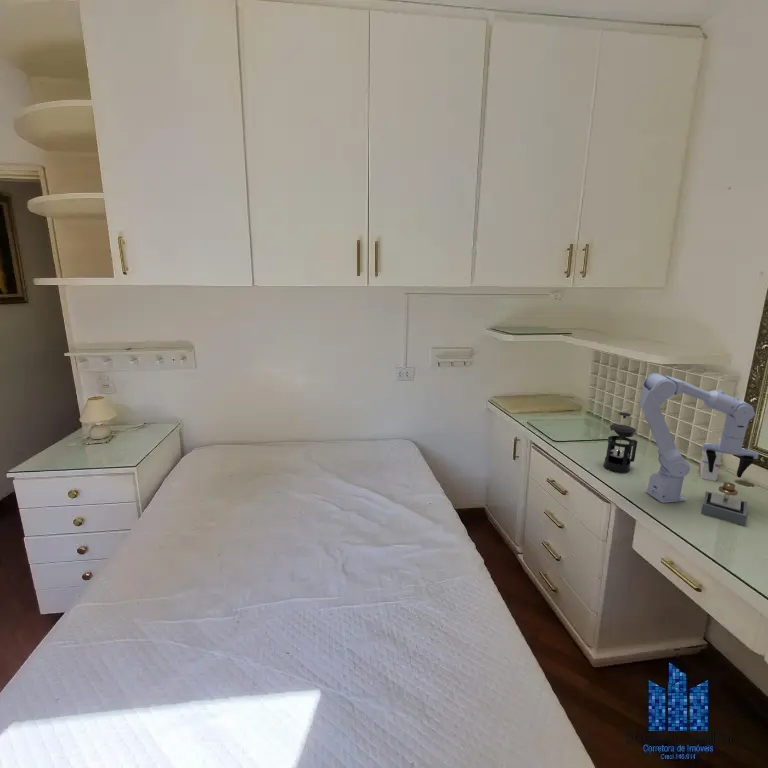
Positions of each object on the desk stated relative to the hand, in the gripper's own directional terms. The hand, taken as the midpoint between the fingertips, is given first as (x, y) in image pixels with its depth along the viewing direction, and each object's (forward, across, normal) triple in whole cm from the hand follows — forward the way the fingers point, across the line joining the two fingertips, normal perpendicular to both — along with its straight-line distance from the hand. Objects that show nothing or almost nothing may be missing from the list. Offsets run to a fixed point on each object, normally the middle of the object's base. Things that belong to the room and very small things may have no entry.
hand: (724, 473), depth 146 cm
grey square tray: (+10, 0, +8) cm, 13 cm away
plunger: (+7, 0, +8) cm, 11 cm away
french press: (+11, +30, -13) cm, 35 cm away
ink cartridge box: (+11, 0, -22) cm, 24 cm away
